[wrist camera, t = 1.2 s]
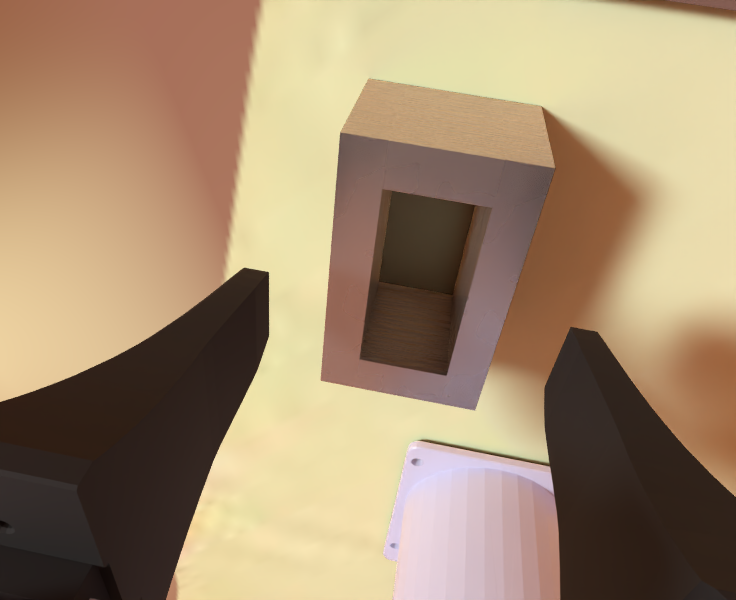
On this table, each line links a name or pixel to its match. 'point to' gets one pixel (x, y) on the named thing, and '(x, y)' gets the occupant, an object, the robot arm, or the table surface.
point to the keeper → (711, 3)
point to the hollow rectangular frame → (481, 252)
